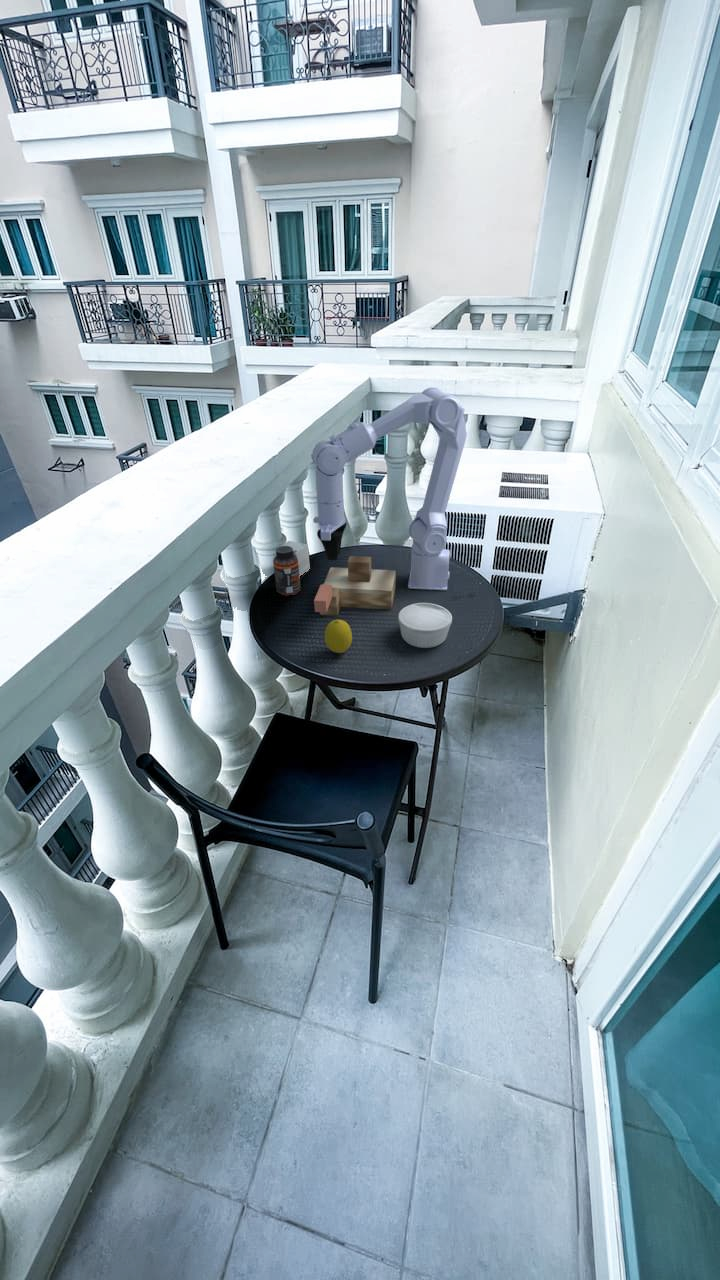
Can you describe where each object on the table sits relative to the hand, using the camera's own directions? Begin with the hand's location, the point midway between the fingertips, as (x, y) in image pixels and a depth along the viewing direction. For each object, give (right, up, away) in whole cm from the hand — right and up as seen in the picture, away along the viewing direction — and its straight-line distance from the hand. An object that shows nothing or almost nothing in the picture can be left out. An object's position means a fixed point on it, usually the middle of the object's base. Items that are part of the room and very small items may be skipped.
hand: (333, 556), depth 126 cm
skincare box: (-11, -2, +17) cm, 20 cm away
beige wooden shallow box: (+6, -10, +3) cm, 12 cm away
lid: (+6, -6, +3) cm, 9 cm away
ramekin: (+20, -19, -9) cm, 29 cm away
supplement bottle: (-11, -7, +8) cm, 16 cm away
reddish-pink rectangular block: (-2, -11, -7) cm, 14 cm away
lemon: (+2, -22, -13) cm, 26 cm away
